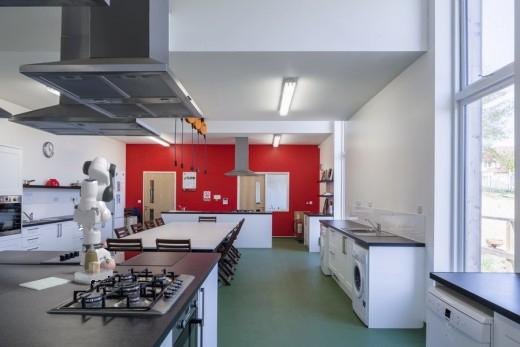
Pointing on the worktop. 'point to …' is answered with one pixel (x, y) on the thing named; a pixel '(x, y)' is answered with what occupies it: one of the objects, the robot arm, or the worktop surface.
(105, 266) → the decorative fruit
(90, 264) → the birch peg
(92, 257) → the squeeze bottle
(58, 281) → the sage pad
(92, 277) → the aluminium socket block
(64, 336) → the worktop surface
